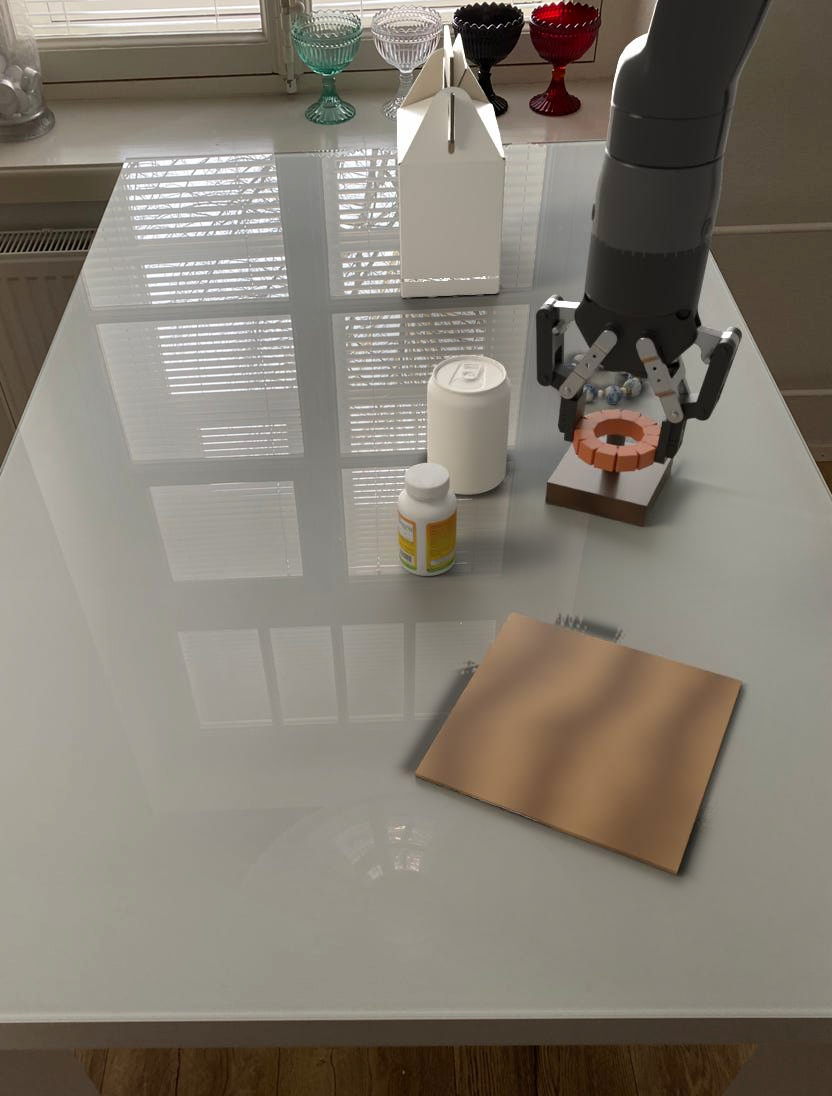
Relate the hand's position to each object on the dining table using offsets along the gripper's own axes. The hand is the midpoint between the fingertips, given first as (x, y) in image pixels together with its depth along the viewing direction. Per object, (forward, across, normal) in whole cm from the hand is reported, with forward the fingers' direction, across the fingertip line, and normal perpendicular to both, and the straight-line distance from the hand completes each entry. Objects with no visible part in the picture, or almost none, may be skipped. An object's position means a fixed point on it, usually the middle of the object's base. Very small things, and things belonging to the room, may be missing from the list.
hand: (616, 446), depth 75 cm
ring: (0, 0, 0) cm, 0 cm away
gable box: (+18, +43, -62) cm, 78 cm away
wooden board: (+18, -4, +12) cm, 22 cm away
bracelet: (+18, +12, -39) cm, 44 cm away
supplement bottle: (+18, +16, -2) cm, 25 cm away
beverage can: (+18, +19, -15) cm, 30 cm away
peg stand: (+18, +5, -20) cm, 27 cm away
